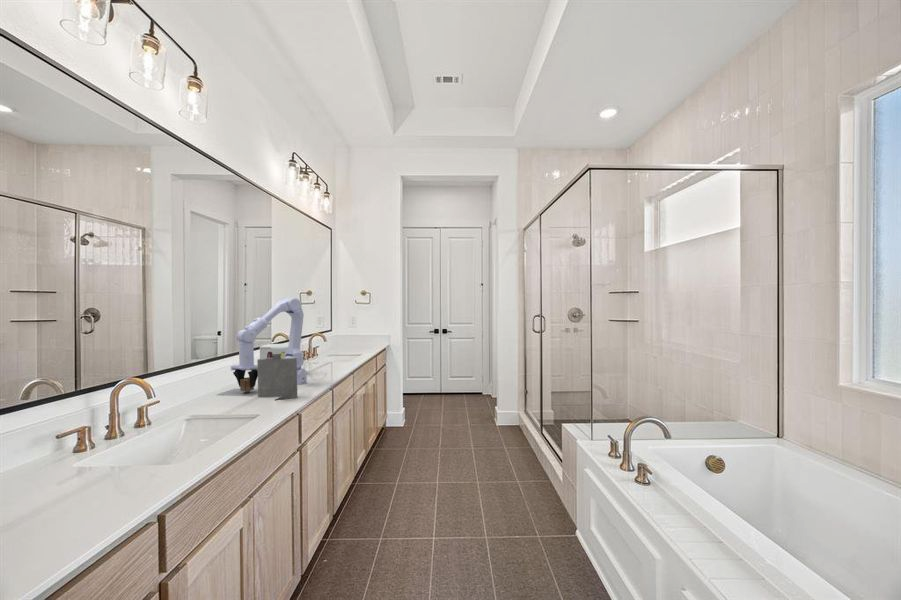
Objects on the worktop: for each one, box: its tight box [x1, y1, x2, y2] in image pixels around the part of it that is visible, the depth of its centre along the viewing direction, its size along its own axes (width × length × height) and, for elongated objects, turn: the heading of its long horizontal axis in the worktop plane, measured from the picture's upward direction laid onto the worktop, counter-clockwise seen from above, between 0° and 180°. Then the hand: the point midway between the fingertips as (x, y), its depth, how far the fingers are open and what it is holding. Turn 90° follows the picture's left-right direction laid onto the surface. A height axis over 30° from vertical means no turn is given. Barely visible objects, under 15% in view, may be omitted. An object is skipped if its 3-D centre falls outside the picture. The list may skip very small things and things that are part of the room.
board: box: [216, 388, 258, 397], centre depth 167 cm, size 18×12×2 cm, turn 81°
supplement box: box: [259, 343, 289, 359], centre depth 209 cm, size 17×13×18 cm
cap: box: [239, 376, 255, 391], centre depth 165 cm, size 5×5×5 cm
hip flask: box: [256, 353, 298, 401], centre depth 160 cm, size 16×4×20 cm, turn 100°
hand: (247, 386), depth 165 cm, fingers closed on cap, 5 cm apart
